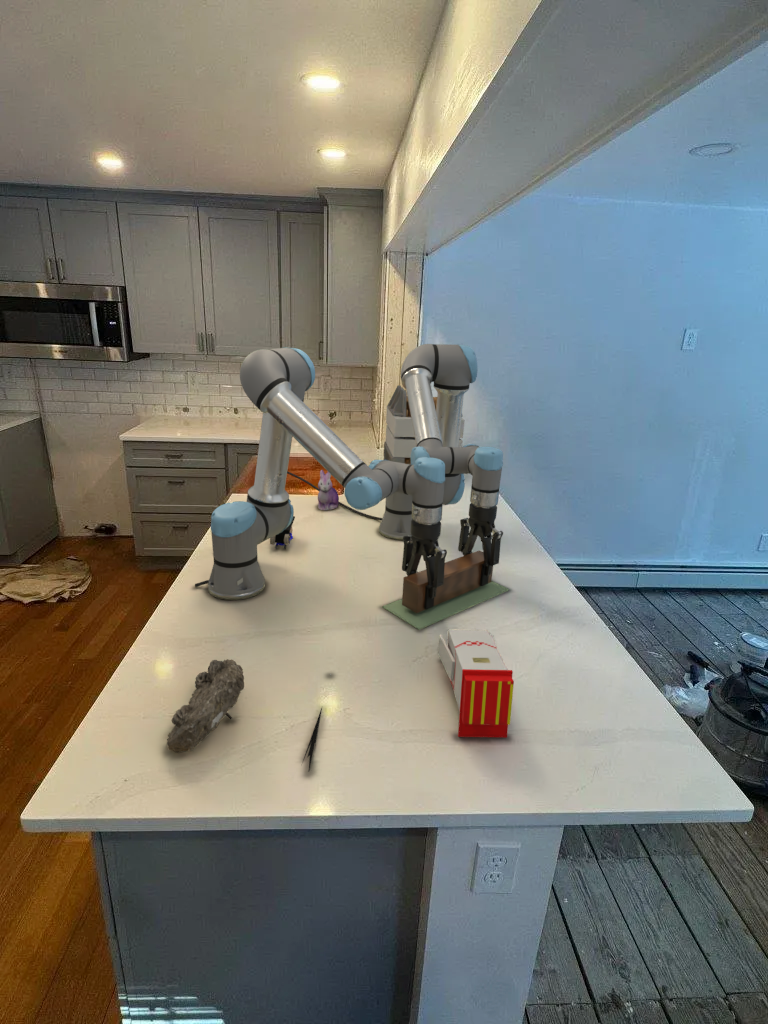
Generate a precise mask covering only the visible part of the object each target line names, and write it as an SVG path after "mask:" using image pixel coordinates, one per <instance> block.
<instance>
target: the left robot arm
mask: <svg viewBox="0 0 768 1024" xmlns="http://www.w3.org/2000/svg"><path fill="white" fill-rule="evenodd" d="M239 380H240V381H239V382H240V385H241V387H242V389H243V392H244V393H245V395H246V396H247V398H248V400H250V401H251V403H252V404H253V405H254V406H255V407H256V408H257V409H258V410H259V411H260V412H261V413H262V417H261V426H260V434H259V441H258V451H257V459H256V466H255V474H254V483H253V485H252V486H250V487H249V488H248V490H247V495H246V501H244V500H242V501H241V500H238V501H237V500H236V501H232V502H226V503H223V504H221V505H219V506H217V507H216V508H215V509H214V510H213V511H212V513H211V518H210V532H211V545H212V557H213V565H212V568H211V571H210V574H209V578H208V579H207V580H202V581H199V582H197V583H194V586H195V588H198V587H201V586H204V585H207V588H208V589H207V590H208V593H209V594H210V595H211V596H213V597H214V598H217V599H220V600H226V601H239V600H246V599H250V598H253V597H254V596H257V595H260V593H262V592H263V591H264V590H265V589H266V579H265V575H264V573H263V570H262V567H261V565H260V563H259V559H258V557H259V556H258V546H259V544H262V543H263V542H265V541H267V540H270V538H271V537H273V536H275V535H277V534H279V533H281V532H282V531H284V530H285V529H286V528H287V527H288V526H289V525H290V524H291V522H292V519H293V516H294V513H295V511H294V505H293V504H291V503H292V501H291V499H290V494H289V492H288V491H287V490H286V483H287V476H288V474H287V471H289V470H288V469H289V461H290V456H291V449H292V443H293V438H294V440H295V441H296V442H298V444H299V445H300V446H301V447H302V448H303V449H305V450H306V452H308V453H309V454H310V455H311V456H312V457H313V459H314V460H316V462H318V463H319V465H321V466H322V467H323V468H324V469H325V470H326V471H327V472H329V473H330V474H331V477H333V478H334V479H335V481H337V482H338V483H339V484H340V486H342V488H344V490H343V492H344V493H343V494H344V497H345V500H346V503H347V504H348V505H349V507H350V508H352V509H354V510H357V511H365V510H369V509H370V508H372V507H376V506H377V505H378V504H379V503H380V502H382V501H383V500H386V497H388V496H390V495H391V494H393V493H401V494H406V495H412V497H413V499H412V520H411V531H410V532H411V534H410V535H406V536H404V537H403V540H402V542H403V550H402V551H403V554H402V562H401V563H402V564H401V570H402V571H403V572H405V574H406V576H409V575H412V574H415V573H417V572H418V568H419V565H420V561H421V559H423V562H425V570H426V571H427V579H428V585H427V586H426V590H425V604H424V609H429V608H431V607H434V597H436V591H437V587H440V586H442V585H444V568H445V562H446V557H447V554H448V550H447V549H442V548H441V547H440V543H439V538H440V536H441V531H442V530H441V529H442V522H441V521H442V520H443V505H442V504H443V494H444V484H445V464H444V462H443V461H442V460H440V459H437V458H427V457H423V458H418V459H417V460H416V461H415V464H414V465H410V464H404V463H398V462H393V461H389V460H384V459H373V460H372V461H371V462H370V463H369V465H368V464H366V462H365V461H363V460H362V458H360V457H359V456H358V454H356V453H355V452H354V451H353V450H352V449H351V448H350V446H348V445H347V444H346V443H345V441H343V440H342V439H341V438H340V437H339V436H338V435H337V434H336V433H335V431H333V430H332V429H331V428H330V427H329V426H328V425H327V424H326V423H325V422H324V421H323V420H322V419H321V418H320V417H319V416H318V415H317V414H316V413H315V412H314V411H313V410H312V409H311V408H310V407H309V406H307V404H306V403H305V402H304V401H305V395H306V392H307V391H309V389H310V388H312V386H313V385H314V382H315V380H316V367H315V364H314V363H313V361H312V359H311V358H310V356H309V355H308V354H307V353H306V352H305V351H304V350H302V349H299V348H295V347H287V346H283V347H278V348H277V347H276V348H262V349H257V350H253V351H252V352H251V353H249V354H248V355H247V356H245V358H244V359H243V360H242V363H241V365H240V369H239Z"/></svg>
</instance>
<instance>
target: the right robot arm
mask: <svg viewBox="0 0 768 1024" xmlns="http://www.w3.org/2000/svg"><path fill="white" fill-rule="evenodd" d="M476 355H477V354H476V352H475V350H474V349H473V347H471V346H470V345H465V344H464V345H463V344H443V343H442V344H441V343H439V344H438V343H435V344H434V343H423V344H419V345H418V346H416V347H415V348H413V349H412V350H411V351H410V352H409V353H408V354H407V355H406V356H405V358H404V361H403V363H402V365H401V368H400V381H401V386H402V388H403V389H404V390H406V393H407V397H408V402H409V408H410V414H411V419H412V425H413V430H414V436H415V442H416V447H414V448H413V449H412V451H411V465H414V464H415V461H416V460H417V459H418V458H423V457H427V458H437V459H440V460H442V461H443V462H444V464H445V484H444V494H443V504H442V506H448V505H456V504H458V503H459V502H460V501H461V500H462V498H463V495H464V493H465V492H464V491H465V486H466V483H465V480H466V478H465V474H466V475H471V485H470V486H471V489H470V497H469V499H470V500H469V502H470V504H469V506H468V517H465V518H462V519H461V518H460V520H459V522H460V531H459V539H458V547H457V551H458V552H461V554H462V556H465V555H468V554H471V553H473V552H474V551H473V549H474V547H475V544H476V542H477V539H478V537H479V539H480V542H481V545H482V552H483V554H484V562H485V563H484V564H482V570H481V579H480V586H484V585H486V584H488V579H489V575H491V571H492V566H493V567H494V566H496V565H499V564H500V557H501V555H500V553H501V542H502V541H501V540H502V538H503V535H504V531H503V530H498V529H497V528H496V524H495V521H496V519H497V515H498V513H497V512H498V505H499V499H500V486H501V479H502V471H503V465H504V453H503V451H502V450H501V448H496V447H493V446H480V445H477V444H473V443H468V444H465V445H462V447H458V445H459V435H460V425H461V418H462V417H463V405H464V398H465V397H464V396H465V394H466V393H467V392H468V391H469V390H470V384H474V383H475V382H476V380H477V378H478V369H479V368H478V359H477V356H476ZM432 383H433V388H434V389H435V391H436V393H437V395H436V397H437V406H436V409H435V405H434V400H433V397H434V396H433V390H432V386H431V384H432ZM461 416H462V417H461ZM287 475H289V476H292V477H294V478H297V479H298V480H300V481H302V482H303V483H305V484H307V485H308V486H310V487H311V488H313V489H315V490H316V491H318V492H319V491H320V489H319V488H318V486H316V485H314V484H313V483H311V482H310V481H308V480H306V479H305V478H303V477H301V476H298V475H297V474H295V473H292V472H290V471H289V470H287ZM412 499H413V497H412V495H406V494H401V493H393V494H391V495H390V496H388V497H386V498H385V504H384V505H385V507H384V508H385V509H384V513H383V515H382V517H378V516H375V515H374V516H373V515H370V514H366V513H365V512H362V511H360V510H357V509H355V508H353V507H351V506H348V505H346V504H344V503H343V502H341V501H339V502H338V506H341V507H343V508H344V509H347V510H349V511H351V512H353V513H355V514H357V515H360V516H362V517H365V518H369V519H372V520H377V521H381V522H379V526H378V533H379V534H380V535H381V536H382V537H385V538H387V539H389V540H395V541H403V537H404V536H406V535H410V534H411V532H410V531H411V520H412Z"/></svg>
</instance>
